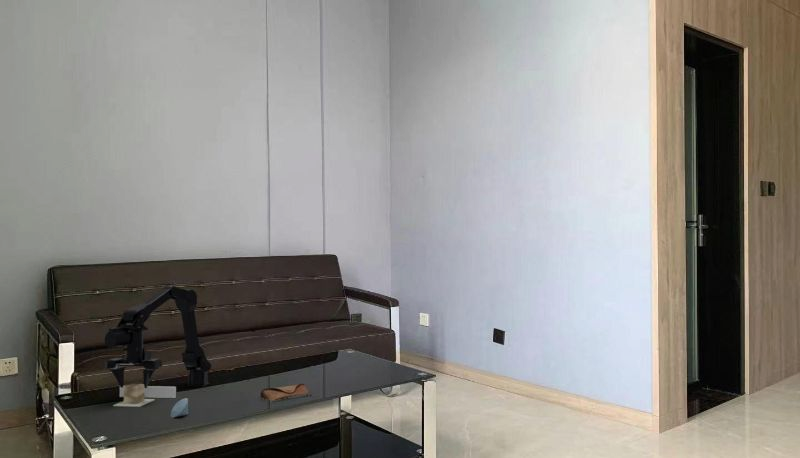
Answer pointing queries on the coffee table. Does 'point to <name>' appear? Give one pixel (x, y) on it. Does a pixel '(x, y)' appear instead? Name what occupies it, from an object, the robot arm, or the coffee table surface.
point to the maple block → (134, 393)
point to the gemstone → (180, 408)
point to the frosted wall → (156, 392)
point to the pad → (134, 404)
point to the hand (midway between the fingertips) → (134, 387)
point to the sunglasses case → (283, 392)
